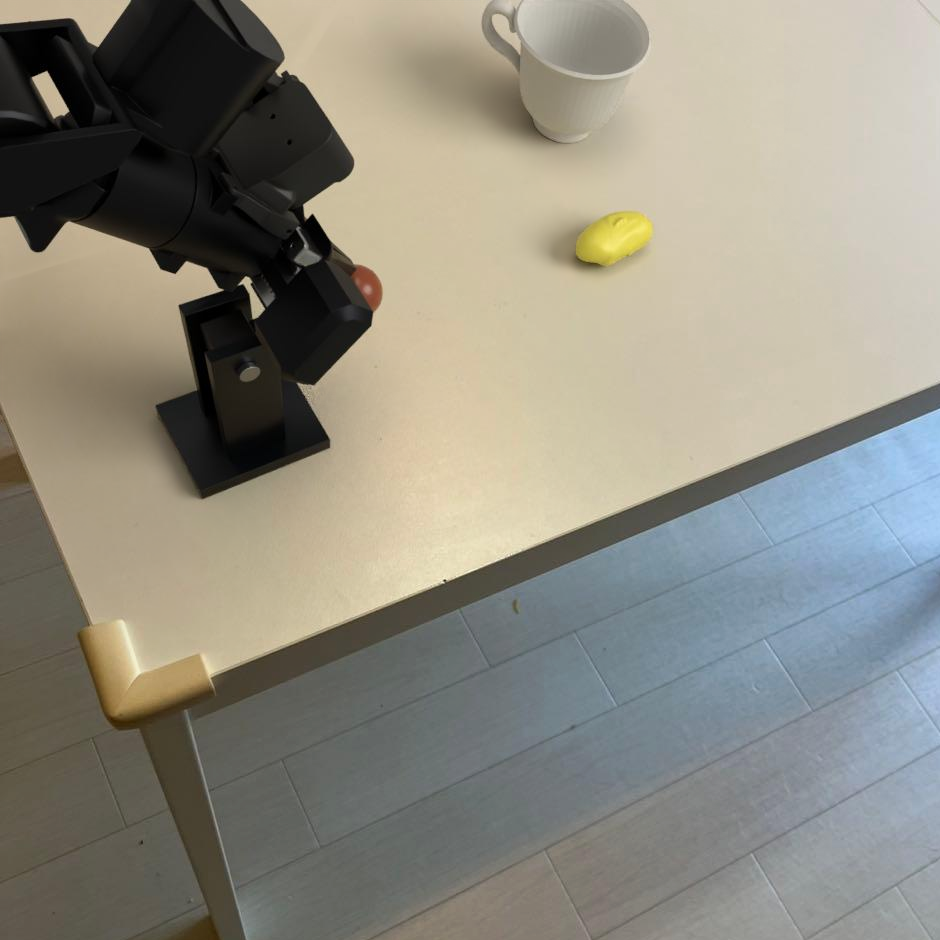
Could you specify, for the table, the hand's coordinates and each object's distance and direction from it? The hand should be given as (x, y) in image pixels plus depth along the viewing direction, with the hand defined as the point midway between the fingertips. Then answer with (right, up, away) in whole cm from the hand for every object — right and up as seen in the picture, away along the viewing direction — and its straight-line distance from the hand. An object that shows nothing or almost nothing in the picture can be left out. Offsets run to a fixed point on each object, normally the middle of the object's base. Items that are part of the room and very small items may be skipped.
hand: (349, 270), depth 67 cm
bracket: (-9, -10, +9) cm, 16 cm away
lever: (-4, -3, +2) cm, 6 cm away
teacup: (+13, +22, +30) cm, 39 cm away
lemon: (+18, +8, +23) cm, 31 cm away
